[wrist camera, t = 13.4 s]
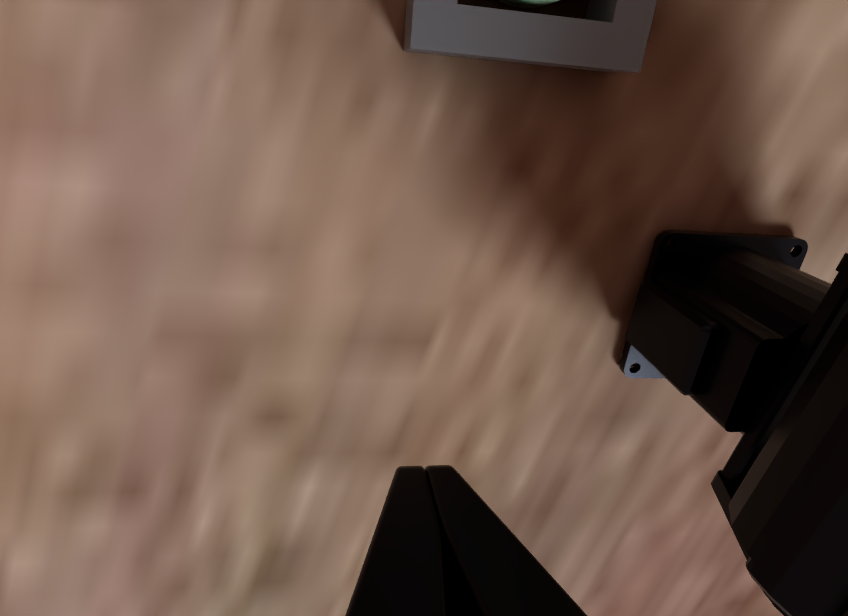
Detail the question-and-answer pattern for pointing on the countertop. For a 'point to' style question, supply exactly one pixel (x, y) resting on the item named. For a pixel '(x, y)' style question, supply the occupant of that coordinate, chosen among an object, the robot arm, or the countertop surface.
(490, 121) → the countertop surface
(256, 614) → the countertop surface
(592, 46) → the button housing
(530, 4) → the button
